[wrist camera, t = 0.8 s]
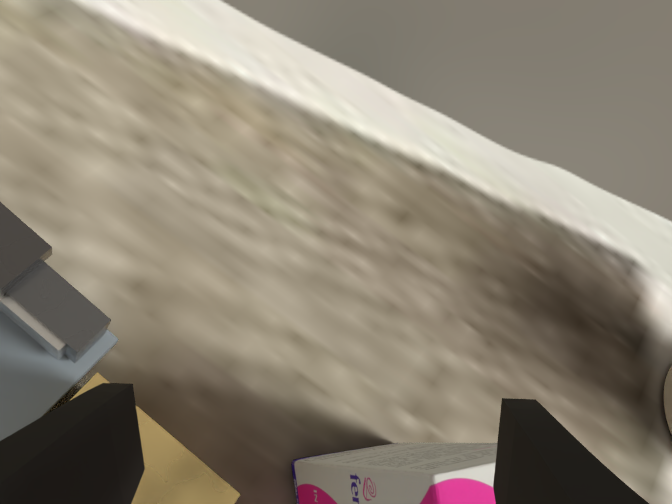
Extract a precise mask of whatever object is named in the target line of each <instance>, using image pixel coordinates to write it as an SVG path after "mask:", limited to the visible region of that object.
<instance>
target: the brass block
mask: <svg viewBox="0 0 672 504" xmlns="http://www.w3.org/2000/svg"><path fill="white" fill-rule="evenodd" d="M102 383H109V382H108V381H107V380H106V379H105V378H104V377H102V376H101V375H100V374H99V373H98V372H97V373H96V374H95V375H94V376H93V377H92V378H91V379H90V380H89V381H88V382H87V383H86V384H85V385H84V386H83V387H82V388H81V389H80V390H79V391H78V392H77V394H76V395H75V396H74V397H73V398H75V397H77V396H79V395H81V394H82V393H84V392H86V391H88V390H90V389H92V388H94V387H96V386H98V385H100V384H102ZM73 398H72V399H73ZM72 399H71V400H72ZM136 411H137V418H138V425H139V432H140V438H141V445H142V452H143V459H144V466H145V470H144V473H143V475H142V478H141V480H140V483H139V485H138V488H137V491H136V493H135V496H134V498H133V500H132V503H131V504H234V503H235V502H236V500H237V499H238V497H239V496H240V495H241V494H240V493H238V492H237V491H236V490H235V489H234V488H233V487H231V486H230V485H229V484H228V483H227V482H226V481H224V480H223V479H222V478H221V477H220V476H218V475H217V474H216V473H215V472H214V471H213V470H211V469H210V468H209V467H208V466H207V465H206V464H204V463H203V462H202V461H201V460H200V459H199V458H197V457H196V456H195V455H194V454H193V453H192V452H190V451H189V450H188V449H187V448H186V447H184V446H183V445H182V444H181V443H180V442H179V441H177V440H176V439H175V438H174V437H173V436H172V435H170V434H169V433H168V432H167V431H166V430H165V429H163V428H162V427H161V426H160V425H159V424H157V423H156V422H155V421H154V420H153V419H152V418H150V417H149V416H148V415H147V414H146V413H145V412H143V411H142V410H141V409H140V408H139V407H138V406H136Z"/></svg>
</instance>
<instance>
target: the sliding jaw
mask: <svg viewBox="0 0 672 504" xmlns="http://www.w3.org/2000/svg"><path fill="white" fill-rule="evenodd" d="M51 255H52V247H51V246H50V245H49V244H48V243H46V242H45V241H44V240H43V239H42V238H41V237H40V236H38V235H37V234H36V233H35V232H34V231H33V230H32V229H30V228H29V227H28V226H27V225H26V224H25V223H24V222H22V221H21V220H20V219H19V218H18V217H17V216H16V215H14V214H13V213H12V212H11V211H10V210H9V209H8V208H6V207H5V206H4V205H3V204H2V203H1V202H0V311H1V312H2V313H4V314H5V315H6V316H7V317H8V318H9V319H11V320H12V321H13V322H14V323H15V324H17V325H18V326H19V327H20V328H21V329H22V330H24V331H25V332H26V333H27V334H28V335H30V336H31V337H32V338H33V339H34V340H35V341H37V342H38V343H39V344H40V345H41V346H43V347H44V348H45V349H46V350H47V351H48V352H50V353H51V354H52V355H53V356H54V357H56V358H57V359H58V360H59V359H60V358H61V357H62V356H63V355H65V356H67V357H68V358H69V359H70V360H71V361H72V362H74V363H76V362H77V361H78V360H79V359H80V358H81V357H82V356H83V355H84V354H85V353H86V352H87V351H88V350H89V349H90V348H91V347H92V346H93V345H94V344H95V343H96V342H97V341H98V340H99V339H100V338H101V337H103V336H104V335H105V333H106V331H107V328H108V326H109V324H110V321H111V319H109V318H108V317H107V316H106V315H105V314H104V313H103V312H101V311H100V310H99V309H98V308H97V307H96V306H95V305H93V304H92V303H91V302H90V301H89V300H88V299H86V298H85V297H84V296H83V295H82V294H81V293H80V292H78V291H77V290H76V289H75V288H74V287H73V286H72V285H70V284H69V283H68V282H67V281H66V280H65V279H64V278H62V277H61V276H60V275H59V274H58V273H57V272H55V271H54V270H53V269H52V268H51V267H50V266H49V265H47V264H46V263H45V262H44V261H45V260H46V259H47V258H48V257H50V256H51Z"/></svg>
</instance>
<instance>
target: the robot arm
mask: <svg viewBox="0 0 672 504" xmlns="http://www.w3.org/2000/svg"><path fill="white" fill-rule="evenodd" d="M144 470H145V466H144V459H143V452H142V445H141V438H140V432H139V425H138V418H137V411H136V404H135V397H134V391H133V384H117V383H102V384H100V385H98V386H96V387H94V388H92V389H90V390H88V391H86V392H84V393H82V394H81V395H79V396H77V397H75V398H73V399H72V400H70V401H68V402H66V403H65V404H63V405H61V406H60V407H58V408H56V409H54V410H53V411H51V412H49V413H48V414H46V415H44V416H42V417H41V418H39V419H37V420H36V421H34V422H32V423H30V424H29V425H27V426H25V427H24V428H22V429H20V430H18V431H17V432H15V433H13V434H12V435H10V436H8V437H6V438H5V439H3V440H1V441H0V504H131V503H132V500H133V498H134V496H135V493H136V491H137V488H138V485H139V483H140V480H141V478H142V475H143V473H144ZM493 489H494V495H495V501H496V504H649V503H648V502H646V501H645V500H644V499H643V498H642V497H640V496H639V495H638V494H637V493H635V492H634V491H633V490H632V489H631V488H629V487H628V486H627V485H626V484H625V483H624V482H623V481H621V480H620V479H619V478H618V477H617V476H616V475H615V474H613V473H612V472H611V471H610V470H609V469H608V468H607V467H606V466H604V465H603V464H602V463H601V462H600V461H599V460H598V459H597V458H596V457H595V456H594V455H593V454H591V453H590V452H589V451H588V450H587V449H586V448H585V447H584V446H583V445H582V444H581V443H580V442H579V441H578V440H577V439H576V438H575V437H574V436H573V435H571V434H570V433H569V432H568V431H567V430H566V429H565V428H564V427H563V426H562V425H561V424H560V423H559V422H558V421H557V420H556V419H555V418H554V417H553V416H552V415H551V414H550V413H549V412H548V411H547V410H546V409H545V408H544V407H543V406H542V405H541V404H540V403H538V402H537V401H536V400H530V399H504V398H502V405H501V415H500V424H499V434H498V444H497V454H496V463H495V473H494V483H493Z"/></svg>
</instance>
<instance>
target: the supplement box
mask: <svg viewBox="0 0 672 504" xmlns="http://www.w3.org/2000/svg"><path fill="white" fill-rule="evenodd" d="M497 444H498V443H394V444H387V445H381V446H374V447H368V448H361V449H355V450H349V451H342V452H336V453H330V454H323V455H317V456H311V457H305V458H300V459H295V460H293V461H292V464H291V465H292V472H293V479H294V486H295V493H296V500H297V504H496V501H495V495H494V489H493V483H494V473H495V463H496V454H497Z"/></svg>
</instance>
